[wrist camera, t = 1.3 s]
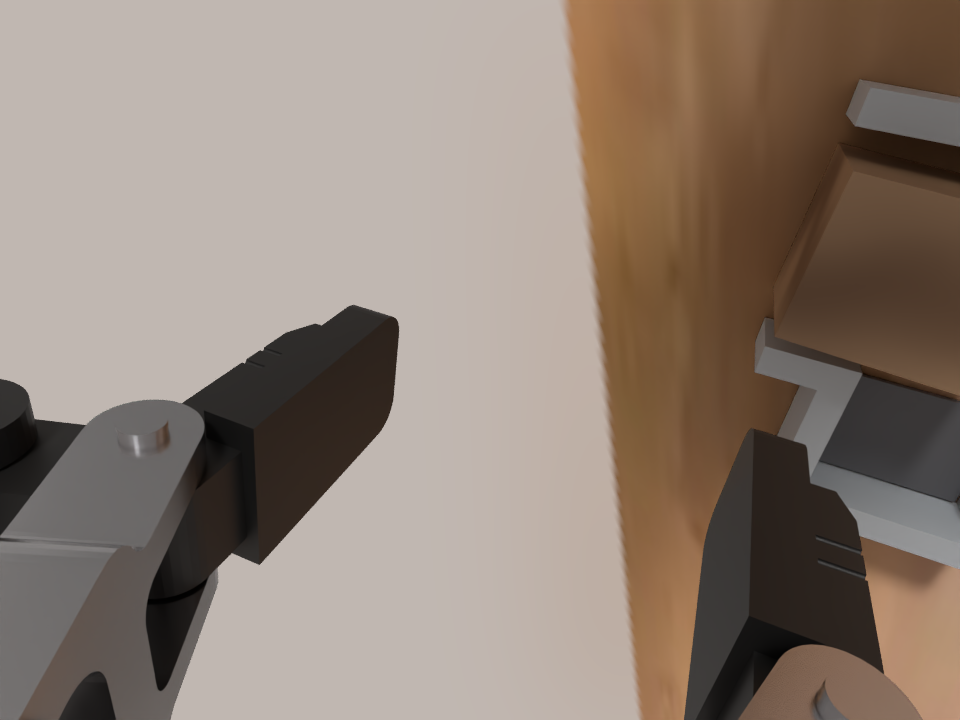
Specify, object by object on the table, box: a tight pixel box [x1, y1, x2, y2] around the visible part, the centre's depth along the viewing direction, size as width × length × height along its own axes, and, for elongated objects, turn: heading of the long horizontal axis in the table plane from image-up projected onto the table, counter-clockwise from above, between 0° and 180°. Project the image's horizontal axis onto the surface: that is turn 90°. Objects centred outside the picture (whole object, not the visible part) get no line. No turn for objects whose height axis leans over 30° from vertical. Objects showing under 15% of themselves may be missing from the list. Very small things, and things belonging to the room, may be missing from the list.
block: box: [773, 143, 960, 396], centre depth 20 cm, size 5×7×4 cm
